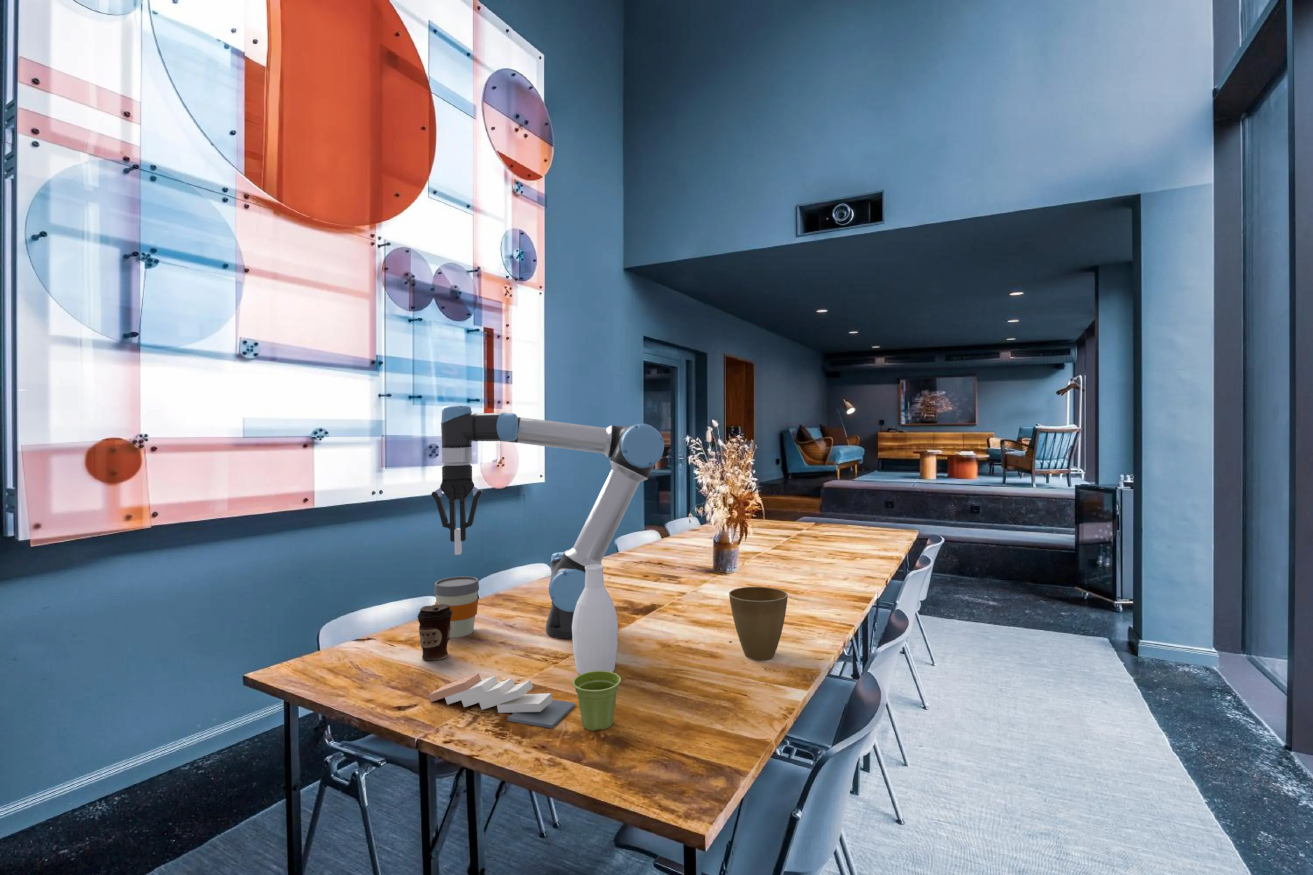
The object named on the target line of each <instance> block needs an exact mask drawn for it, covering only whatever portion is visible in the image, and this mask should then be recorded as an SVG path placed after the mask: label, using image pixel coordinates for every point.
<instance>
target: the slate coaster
mask: <svg viewBox="0 0 1313 875" xmlns="http://www.w3.org/2000/svg"><path fill="white" fill-rule="evenodd" d="M574 706H576V702H574V701H573V702H571V701H567V700H559V699H552V702H551V703H550V704H549V705H547V706H546V707H545V708H544V709H543V710H542V711H541V712H512V714H510V715H508V717H507V721H508V722H513V723H516V724H517V723H520V724H524V725H530V726H537V727H543V728H549V729H553V728H554V727H555V726H556V725H557V724H558V723H559V722H561V720H562V719H563V718H564V717H566V716H567V715H568V714H569V712H570V711H572V709H573V708H575V707H574Z"/></svg>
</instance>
